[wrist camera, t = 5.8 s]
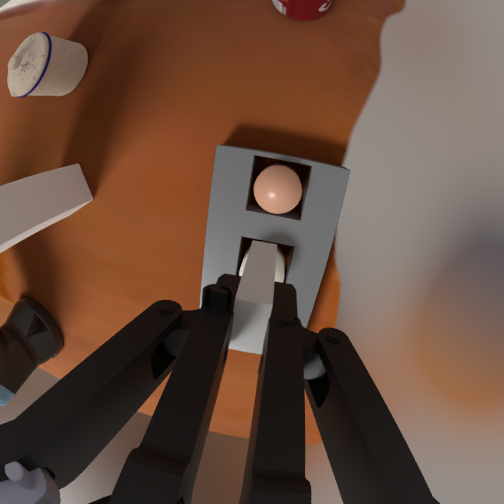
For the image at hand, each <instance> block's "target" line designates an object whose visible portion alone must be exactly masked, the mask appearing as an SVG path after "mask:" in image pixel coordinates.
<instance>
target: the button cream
mask: <svg viewBox="0 0 504 504" xmlns="http://www.w3.org/2000/svg"><path fill="white" fill-rule="evenodd" d="M260 242H265V243H271V242H268V241H260ZM271 244H274V243H271ZM250 247H251V246H250ZM250 247H249V248H248V249H247V251H246V253H245V256H244V259H243V262H242V265H241V268H240V271H239V276H242V274H243V271H244V267H245V264H246V261H247V257H248V254H249V251H250ZM284 266H285V258H284V254H283V252H282V250H281V249H280V248H279V247H278V246H277V255H276V269H275V281H276V282H282V283H283V281H284Z"/></svg>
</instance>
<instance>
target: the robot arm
mask: <svg viewBox="0 0 504 504" xmlns="http://www.w3.org/2000/svg"><path fill="white" fill-rule="evenodd" d="M276 255H277V244H271V243H265V242H259V241H252V244H251V247H250V251H249V254H248V257H247V261H246V264H245V267H244V271H243V274H242V276H237V275H232V274H226V273H224V274H223V275H221V276H220V277H219V278H218V280H217V282H216V284H209V285H207V286H205V287H204V288H203V291H202V306H201V308H200V309H197V310H182V307H181V306H180V304H178V303H177V302H175V301H171V300H161V301H157V302H155V303H153V304H152V305H151V306H150V307H148V308H147V309H146V310H145V311H143V312H142V313H141V314H140V315H138V316H137V317H136V318H135V319H133V320H132V321H131V322H130V323H129V324H127V325H126V326H125V327H124V328H122V329H121V330H120V331H119V332H117V333H116V334H115V335H114V336H113V337H111V338H110V339H109V340H108V341H106V342H105V343H104V344H103V345H102V346H100V347H99V348H98V349H97V350H96V351H94V352H93V353H92V354H91V355H89V356H88V357H87V358H86V359H85V360H83V361H82V362H81V363H80V364H79V365H77V366H76V367H75V368H74V369H73V370H71V371H70V372H69V373H68V374H67V375H66V376H64V377H63V378H62V379H61V380H60V381H58V382H57V383H56V384H55V385H54V386H53V387H52V388H50V389H49V390H48V391H47V392H46V393H45V394H43V395H42V396H41V397H40V398H39V399H37V400H36V401H35V402H34V403H33V404H32V405H30V406H29V407H28V408H27V409H26V410H25V411H24V412H22V413H21V414H20V415H19V416H18V417H17V418H16V419H14V420H12V421H9V422H7V423H4V424H1V425H0V504H60V501H61V499H60V492H59V489H61V488H63V487H65V486H67V485H68V484H69V483H71V482H72V481H74V480H75V479H76V478H77V477H78V476H79V475H80V474H81V473H82V472H83V471H84V470H85V469H86V468H87V467H88V465H89V464H90V463H91V462H92V461H93V460H94V459H95V457H97V455H98V454H99V453H100V452H101V451H102V450H103V448H105V446H106V445H107V444H108V443H109V442H110V441H111V439H112V438H113V437H114V436H115V435H116V434H117V433H118V432H119V431H120V430H121V428H122V427H123V426H124V425H125V424H126V423H127V422H128V420H129V419H130V418H131V417H132V416H133V415H134V414H135V413H136V411H137V410H138V409H139V408H140V407H141V406H142V405H143V403H144V402H145V401H146V400H147V399H148V398H149V396H150V395H151V394H152V393H153V392H154V391H155V390H156V388H157V387H158V386H159V385H160V384H161V383H162V381H163V380H164V379H165V378H166V377H167V376H168V374H169V373H170V372H171V371H172V372H171V375H170V377H169V379H168V382H167V384H166V386H165V388H164V391H163V393H162V395H161V398H160V400H159V402H158V405H157V407H156V409H155V412H154V414H153V416H152V419H151V421H150V423H149V426H148V428H147V431H146V433H145V435H144V438H143V440H142V442H141V444H140V446H139V447H138V448H135V449H133V450H132V451H131V452H130V454H129V455H128V457H127V459H126V462H125V464H124V466H123V469H122V471H121V473H120V476H119V478H118V481H117V483H116V485H115V488H114V490H113V493H112V495H109V496H106V497H103V498H101V499H98V500H96V501H94V502H91V503H89V504H191V500H192V494H193V488H194V483H195V480H196V476H197V472H198V468H199V464H200V461H201V457H202V453H203V449H204V445H205V441H206V437H207V433H208V430H209V426H210V422H211V418H212V414H213V410H214V406H215V402H216V399H217V395H218V391H219V387H220V383H221V379H222V375H223V371H224V367H225V363H226V360H227V355H228V348H229V349H234V350H239V351H245V352H251V353H257V354H262V356H261V360H260V364H259V369H258V373H257V374H258V381H257V388H256V396H255V403H254V410H253V417H252V424H251V431H250V438H249V445H248V452H247V458H246V464H245V470H244V477H243V483H242V490H241V495H240V500H239V504H311V485H310V482H309V481H308V480H307V479H306V477H305V394H304V388H305V391H306V394H307V397H308V400H309V402H310V405H311V408H312V411H313V414H314V417H315V420H316V423H317V426H318V429H319V432H320V435H321V438H322V441H323V444H324V447H325V450H326V452H327V456H328V459H329V461H330V464H331V468H332V471H333V474H334V476H335V479H336V482H337V485H338V488H339V491H340V494H341V497H342V500H343V503H344V504H440V503H439V502H438V501H437V500H436V499H434V497H433V496H432V494H431V492H430V490H429V488H428V485H427V483H426V481H425V479H424V477H423V475H422V473H421V471H420V469H419V467H418V465H417V463H416V461H415V459H414V457H413V455H412V453H411V451H410V449H409V447H408V445H407V443H406V441H405V439H404V438H403V436H402V433H401V432H400V430H399V428H398V426H397V424H396V422H395V420H394V418H393V417H392V415H391V413H390V411H389V409H388V407H387V405H386V403H385V402H384V400H383V398H382V396H381V394H380V392H379V391H378V389H377V387H376V385H375V384H374V382H373V380H372V378H371V376H370V375H369V373H368V371H367V369H366V368H365V366H364V364H363V362H362V360H361V359H360V357H359V355H358V353H357V352H356V350H355V348H354V347H353V345H352V343H351V341H350V340H349V338H348V336H347V335H346V334H345V333H344V332H342V331H340V330H338V329H335V328H323V329H322V330H320V331H319V333H315V332H313V331H310V330H308V329H306V328H305V327H303V326H302V323H301V320H300V319H299V318H298V310H297V292H296V289H295V287H294V286H293V285H292V284H288V283H282V282H276V281H275V269H276ZM62 349H63V339H62V336H61V333H60V331H59V329H58V327H57V325H56V324H55V322H54V320H53V319H52V318H51V316H50V315H49V314H48V313H47V311H46V310H45V309H44V308H43V307H42V306H41V305H40V304H38V303H37V302H36V301H34V300H33V299H31V298H28V297H23V298H21V299H20V300H19V301H18V302H17V303H16V304H15V305H14V307H13V310H12V311H11V313H10V315H9V316H8V318H7V320H6V322H5V323H4V324H3V325H2V326H1V327H0V405H1V406H2V405H6V404H7V403H8V402H9V401H10V400H11V399H12V397H14V396H15V394H16V393H17V391H18V390H19V389H20V387H21V386H22V385H23V384H24V382H25V381H26V380H27V379H28V377H29V376H30V375H31V374H32V372H33V371H34V370H35V369H36V368H37V367H38V366H39V365H41V364H42V363H44V362H46V361H48V360H49V359H50V358H54V357H56V356H57V355H58V354H59V353H60V352H61V350H62Z"/></svg>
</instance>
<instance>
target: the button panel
mask: <svg viewBox="0 0 504 504" xmlns="http://www.w3.org/2000/svg"><path fill="white" fill-rule="evenodd" d="M257 156H262V157H268V158H274V159H279V160H284V161H290V162H295V163H300V164H305V165H309V169H308V174H307V179H306V184H305V189H304V194H303V199H302V204H301V208H300V213H294V212H289V211H288V212H286V213H281V214H276V213H271V212H268V211H266V210H264V209H263V208H262V207H261V206H257V205H252V204H249V200H250V194H251V188H252V181H253V175H254V169H255V163H256V157H257ZM349 173H350V170H349V169H347V168H345V167H341V166H337V165H333V164H329V163H325V162H320V161H316V160H311V159H306V158H302V157H297V156H292V155H286V154H281V153H276V152H270V151H264V150H258V149H252V148H245V147H239V146H232V145H224V144H222V145H217V149H216V156H215V163H214V170H213V178H212V186H211V194H210V203H209V211H208V220H207V230H206V240H205V250H204V260H203V272H202V284H201V297H200V308H201V306H202V291H203V288H204V287H205V286H207V285H209V284H216V282H217V280H218V278H219V277H220V276H221V275H223V274H224V273H226V274H232V275H237V276H239V272H238V270H239V264H240V257H241V251H242V244H243V238H244V237H248V238H253V239H259V240H264V241H269V242H274V243H280V244H285V245H290V246H292V249H291V253H290V258H289V262H288V266H287V271H286V275H285V279H284V281H283V283H288V284H292V285H293V286H294V287H295V289H296V292H297V310H298V318H299V319H300V320H301V323H302V326H303V327H305V328H306V327H307V324H308V321H309V318H310V315H311V312H312V309H313V306H314V303H315V300H316V297H317V293H318V290H319V287H320V284H321V280H322V277H323V274H324V270H325V267H326V263H327V260H328V256H329V253H330V249H331V246H332V242H333V238H334V235H335V231H336V227H337V223H338V219H339V215H340V211H341V207H342V203H343V199H344V195H345V191H346V186H347V182H348V177H349Z"/></svg>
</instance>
